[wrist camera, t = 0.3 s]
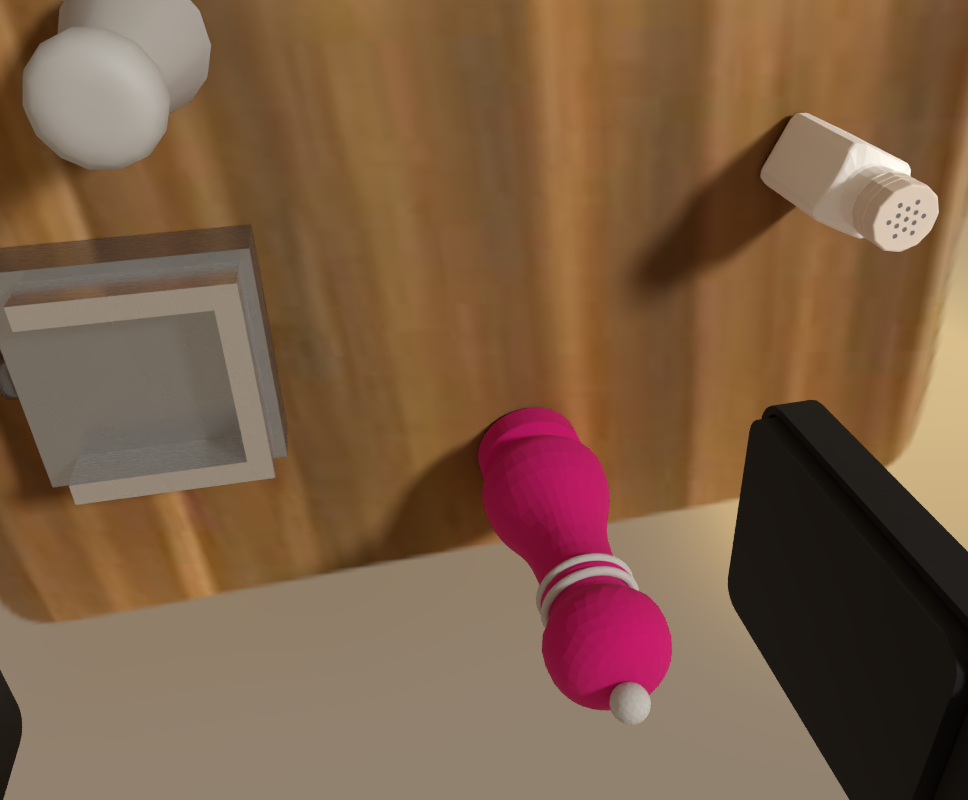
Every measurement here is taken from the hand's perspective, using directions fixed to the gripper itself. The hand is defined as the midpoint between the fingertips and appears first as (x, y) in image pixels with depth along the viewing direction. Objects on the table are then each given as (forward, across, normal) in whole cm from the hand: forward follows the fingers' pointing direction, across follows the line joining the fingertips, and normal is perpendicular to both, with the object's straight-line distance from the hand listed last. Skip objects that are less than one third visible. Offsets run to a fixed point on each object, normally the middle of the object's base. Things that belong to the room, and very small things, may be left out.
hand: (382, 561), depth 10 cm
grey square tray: (+34, +10, +14) cm, 39 cm away
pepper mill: (+35, -10, +24) cm, 44 cm away
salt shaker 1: (+34, +7, -1) cm, 35 cm away
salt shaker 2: (+35, -25, +8) cm, 43 cm away
